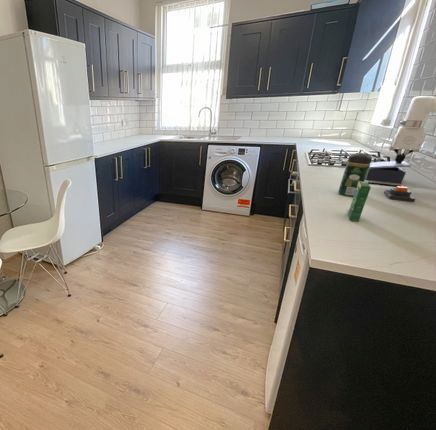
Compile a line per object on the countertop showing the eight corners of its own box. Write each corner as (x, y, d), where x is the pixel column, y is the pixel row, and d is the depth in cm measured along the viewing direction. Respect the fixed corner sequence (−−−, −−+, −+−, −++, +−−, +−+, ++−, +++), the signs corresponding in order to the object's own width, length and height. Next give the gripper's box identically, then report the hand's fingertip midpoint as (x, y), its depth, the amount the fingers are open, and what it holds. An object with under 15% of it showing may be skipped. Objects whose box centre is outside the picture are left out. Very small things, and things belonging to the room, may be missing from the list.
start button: (394, 189, 124) (395, 185, 124) (405, 190, 123) (406, 186, 122) (396, 191, 122) (397, 187, 121) (407, 192, 120) (409, 188, 119)
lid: (403, 162, 142) (403, 160, 142) (410, 166, 133) (410, 164, 133) (365, 164, 150) (366, 162, 150) (369, 168, 141) (370, 166, 141)
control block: (383, 193, 129) (386, 186, 128) (407, 196, 125) (410, 188, 124) (388, 199, 121) (391, 191, 120) (413, 202, 118) (417, 194, 116)
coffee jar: (339, 190, 134) (351, 151, 127) (360, 193, 129) (374, 153, 122) (336, 194, 128) (349, 153, 121) (358, 198, 123) (373, 156, 116)
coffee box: (347, 213, 107) (358, 180, 102) (356, 215, 105) (368, 181, 100) (348, 220, 101) (360, 185, 96) (358, 222, 99) (371, 186, 94)
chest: (393, 182, 147) (399, 167, 144) (399, 187, 138) (406, 172, 135) (360, 178, 153) (365, 164, 150) (364, 183, 144) (369, 168, 141)
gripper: (394, 124, 133) (380, 162, 140) (438, 125, 126) (421, 166, 133) (390, 123, 139) (377, 160, 146) (432, 124, 131) (416, 163, 139)
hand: (398, 162), depth 139 cm, fingers closed
